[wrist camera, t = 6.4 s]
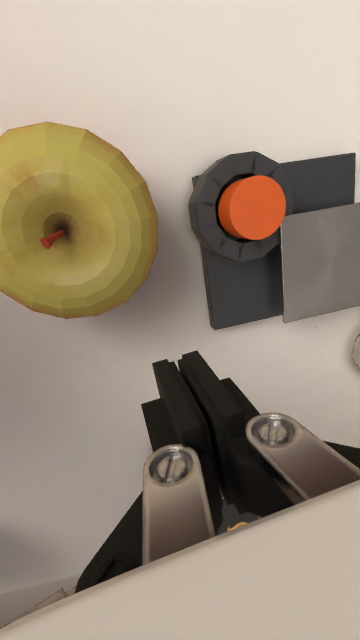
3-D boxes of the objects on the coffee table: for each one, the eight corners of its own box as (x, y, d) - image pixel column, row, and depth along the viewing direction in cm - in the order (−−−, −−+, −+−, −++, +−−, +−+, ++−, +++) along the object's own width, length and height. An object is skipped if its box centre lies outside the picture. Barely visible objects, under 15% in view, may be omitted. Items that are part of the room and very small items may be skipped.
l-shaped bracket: (201, 328, 26) (213, 342, 23) (179, 167, 22) (190, 159, 19) (343, 296, 28) (370, 305, 25) (346, 143, 24) (379, 133, 21)
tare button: (221, 242, 21) (232, 244, 19) (214, 183, 20) (226, 179, 18) (271, 233, 22) (287, 234, 20) (268, 175, 21) (285, 171, 19)
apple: (-26, 269, 21) (-98, 297, 13) (15, 112, 19) (-42, 44, 11) (120, 316, 24) (128, 360, 16) (169, 185, 22) (203, 169, 14)
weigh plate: (282, 322, 24) (284, 323, 23) (277, 216, 21) (280, 216, 21) (370, 301, 25) (373, 302, 24) (375, 199, 22) (379, 199, 22)
